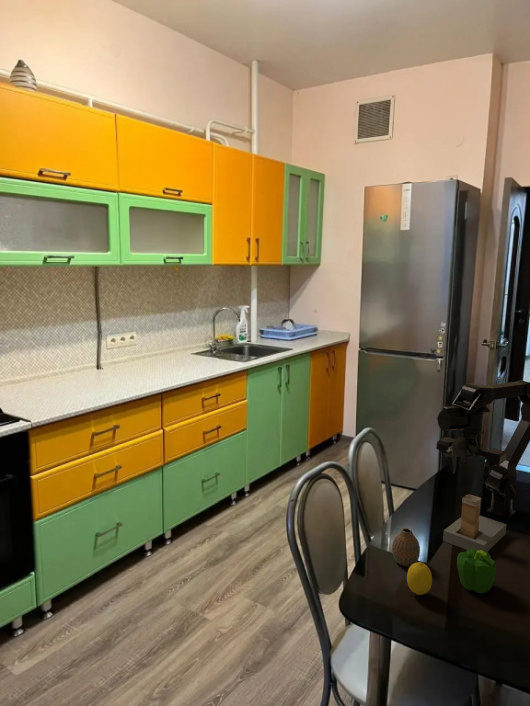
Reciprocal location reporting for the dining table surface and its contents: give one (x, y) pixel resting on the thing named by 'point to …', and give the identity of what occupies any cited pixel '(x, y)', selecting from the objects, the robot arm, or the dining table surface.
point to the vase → (406, 548)
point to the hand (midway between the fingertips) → (468, 477)
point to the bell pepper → (476, 570)
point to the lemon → (419, 578)
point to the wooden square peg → (470, 516)
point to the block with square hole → (486, 539)
